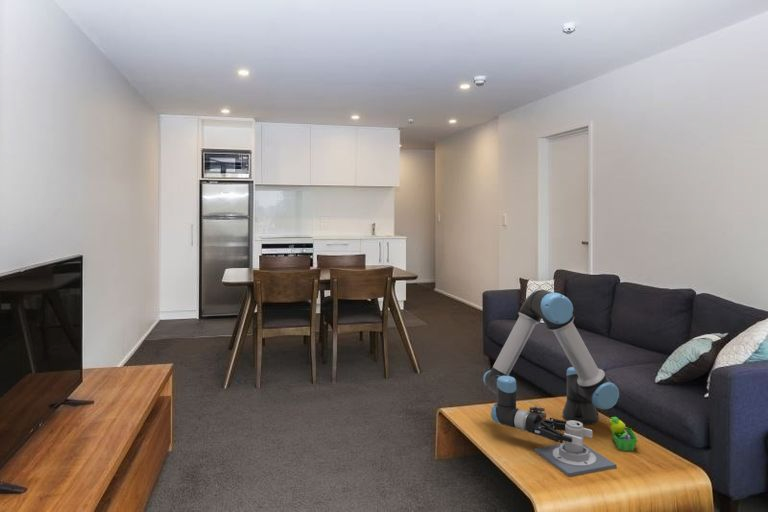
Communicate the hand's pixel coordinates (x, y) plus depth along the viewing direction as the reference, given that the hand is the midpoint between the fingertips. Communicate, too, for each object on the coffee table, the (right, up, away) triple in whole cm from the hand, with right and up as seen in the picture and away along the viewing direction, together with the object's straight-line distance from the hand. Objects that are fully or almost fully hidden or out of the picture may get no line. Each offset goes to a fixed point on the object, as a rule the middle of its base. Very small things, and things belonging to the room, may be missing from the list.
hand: (586, 438), depth 175 cm
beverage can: (-3, -8, +4) cm, 9 cm away
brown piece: (-9, -8, +30) cm, 32 cm away
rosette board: (-3, -9, +4) cm, 10 cm away
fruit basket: (+20, -9, +14) cm, 26 cm away
